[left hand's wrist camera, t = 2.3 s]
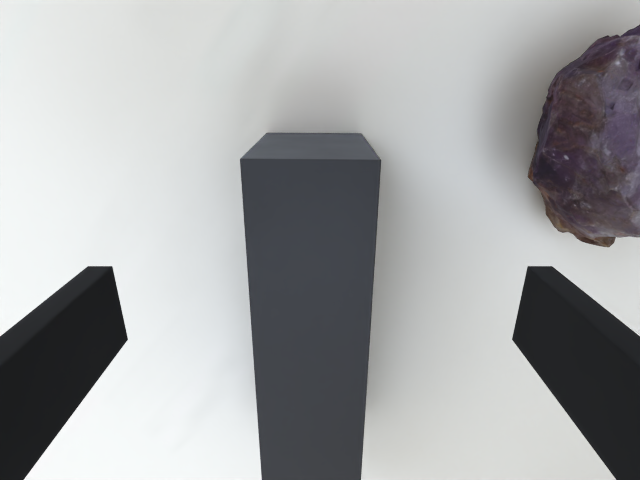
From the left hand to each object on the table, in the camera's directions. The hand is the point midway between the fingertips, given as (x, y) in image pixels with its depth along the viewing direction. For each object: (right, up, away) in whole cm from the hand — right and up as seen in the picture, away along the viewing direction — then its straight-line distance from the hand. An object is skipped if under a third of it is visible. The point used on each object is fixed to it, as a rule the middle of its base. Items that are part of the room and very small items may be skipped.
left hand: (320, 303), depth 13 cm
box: (0, -2, +17) cm, 17 cm away
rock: (+16, +9, +12) cm, 22 cm away
